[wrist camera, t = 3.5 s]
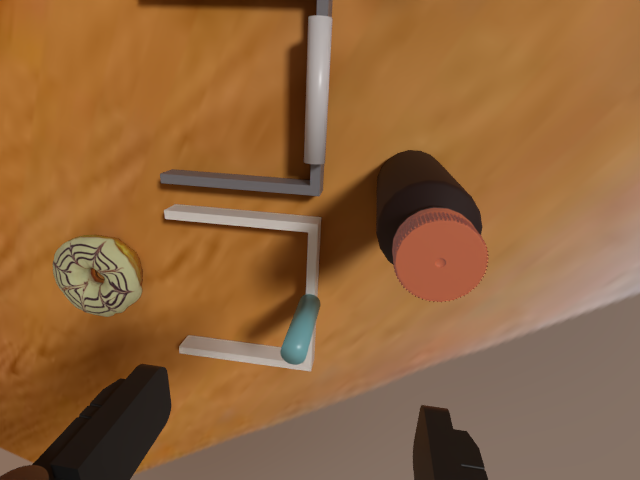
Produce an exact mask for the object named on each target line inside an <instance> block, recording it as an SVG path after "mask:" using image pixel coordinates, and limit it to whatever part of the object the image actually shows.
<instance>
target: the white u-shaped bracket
mask: <svg viewBox="0 0 640 480" xmlns="http://www.w3.org/2000/svg"><path fill="white" fill-rule="evenodd" d="M164 215H165V219H171V220H181V221H192V222H203V223H213V224H224V225H234V226H245V227H256V228H266V229H277V230H287V231H298V232H308V251H307V277H306V295H303V296H302V297H301V298H300V301H299V303H298V306H297V309H296V311H295V314H294V316H293V319H292V322H291V324H290V327H289V329H288V332H287V335H286V337H285V340H284V342H283V345H282V347H275V346H267V345H259V344H252V343H244V342H237V341H229V340H222V339H214V338H206V337H199V336H191V335H188V336H187V337H186V338H185V340H184V341H183V342H182V343H181V345H180V346H179V353H182V354H189V355H196V356H203V357H211V358H218V359H225V360H232V361H240V362H247V363H254V364H261V365H268V366H276V367H283V368H290V369H297V370H305V371H311V369H312V365H313V361H314V353H315V333H316V319H317V316H318V312H319V308H320V300H319V299H318V298H317V294H318V274H319V254H320V235H321V217H314V216H303V215H291V214H280V213H269V212H258V211H247V210H235V209H224V208H213V207H202V206H190V205H179V204H175V205H173V206H171V207H169V208H167V209H165V210H164Z"/></svg>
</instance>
